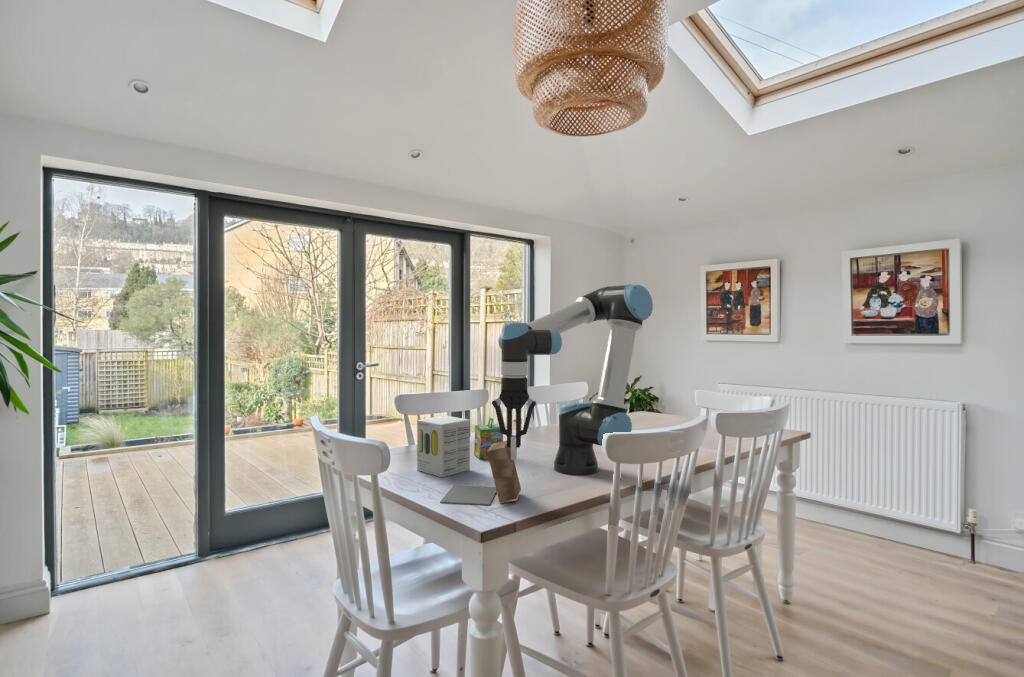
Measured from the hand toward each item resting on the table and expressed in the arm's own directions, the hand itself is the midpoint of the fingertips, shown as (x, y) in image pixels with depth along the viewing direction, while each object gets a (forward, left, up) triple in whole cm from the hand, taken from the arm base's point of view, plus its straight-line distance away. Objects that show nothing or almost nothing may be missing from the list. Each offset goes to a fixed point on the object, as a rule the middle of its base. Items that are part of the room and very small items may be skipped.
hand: (513, 458), depth 156 cm
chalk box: (+16, -48, -12) cm, 52 cm away
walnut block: (+1, 0, -11) cm, 11 cm away
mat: (+13, -1, -12) cm, 17 cm away
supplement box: (+28, -27, -12) cm, 41 cm away
